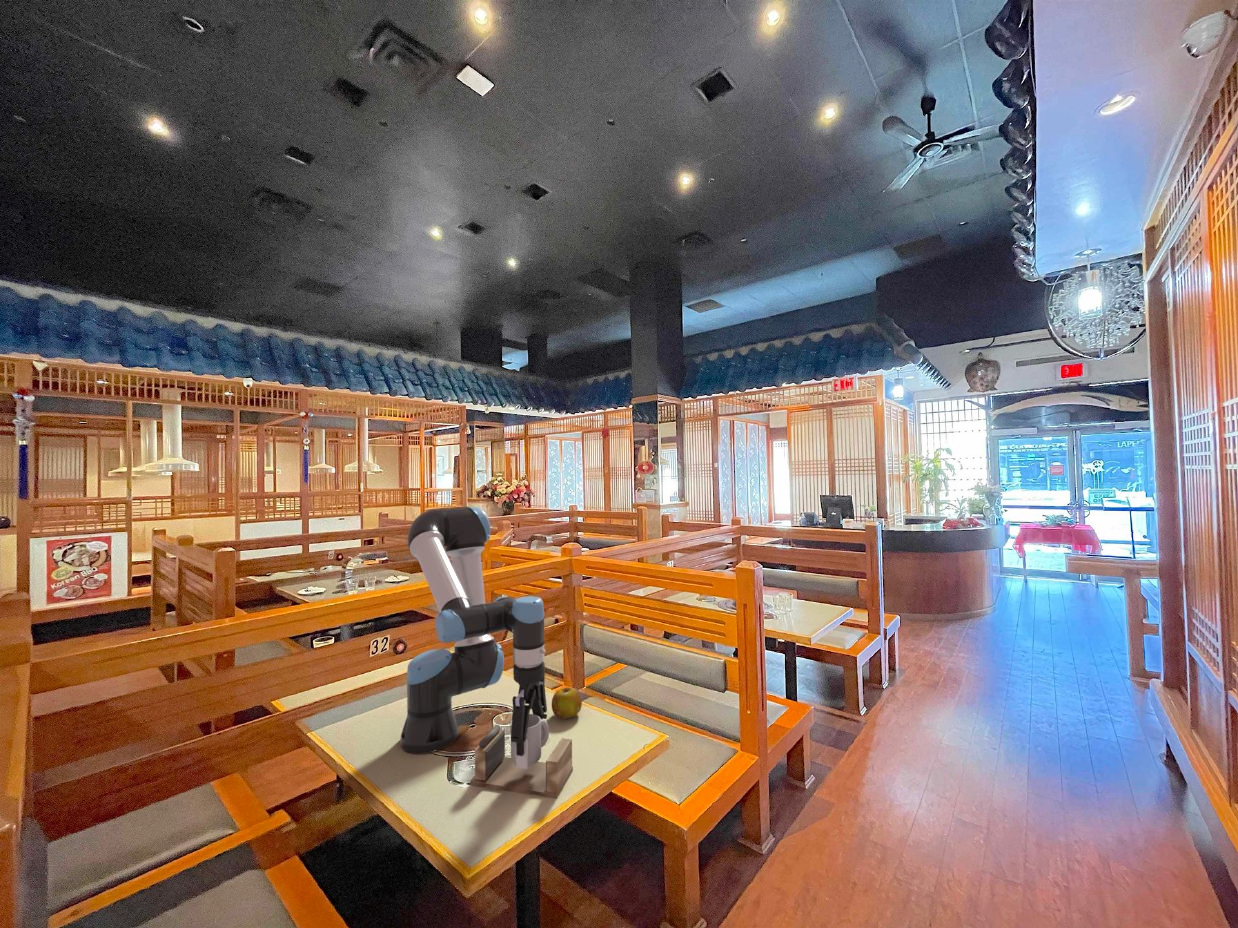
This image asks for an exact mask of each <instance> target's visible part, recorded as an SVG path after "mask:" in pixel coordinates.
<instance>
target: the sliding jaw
mask: <svg viewBox="0 0 1238 928" xmlns="http://www.w3.org/2000/svg"><path fill="white" fill-rule="evenodd" d="M505 733H506V732H505V729H501V726H500V725H499V724H496V725H494V727H492V728H491V730H489V732H488V733H487V734H485V736H484V737H482V739H481V740H480V741H479V742H478V746H477V747H476V748H475V749H474V776H475V779H478V780H486V779H487V777H488V776H489V775H490V774H491V773H492V771H493V770H494V769H495V768H496V767H497V765H498V764H499V763H500V762H501V761H502V759H503V758H504V757H506V746H505V745H506V741H505V740H506V739H505V738H506V737H505V736H506V734H505Z"/></svg>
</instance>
